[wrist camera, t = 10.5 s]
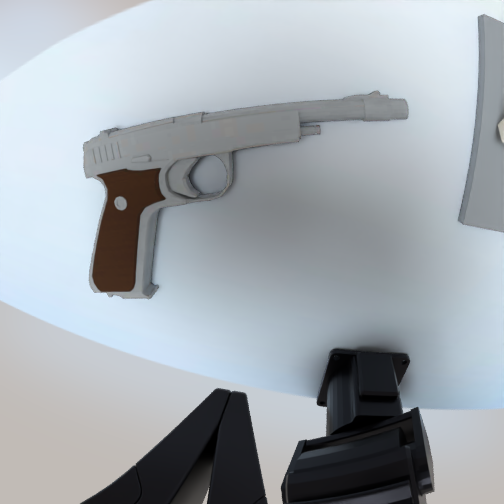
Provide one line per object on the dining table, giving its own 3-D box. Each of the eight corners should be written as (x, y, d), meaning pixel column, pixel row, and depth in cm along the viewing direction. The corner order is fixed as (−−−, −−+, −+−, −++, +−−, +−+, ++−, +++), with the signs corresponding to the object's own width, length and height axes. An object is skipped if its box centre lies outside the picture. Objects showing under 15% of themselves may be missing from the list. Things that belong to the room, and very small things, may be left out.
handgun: (407, 291, 19) (410, 91, 14) (90, 302, 23) (43, 150, 18) (397, 271, 21) (397, 91, 16) (105, 286, 25) (65, 143, 20)
